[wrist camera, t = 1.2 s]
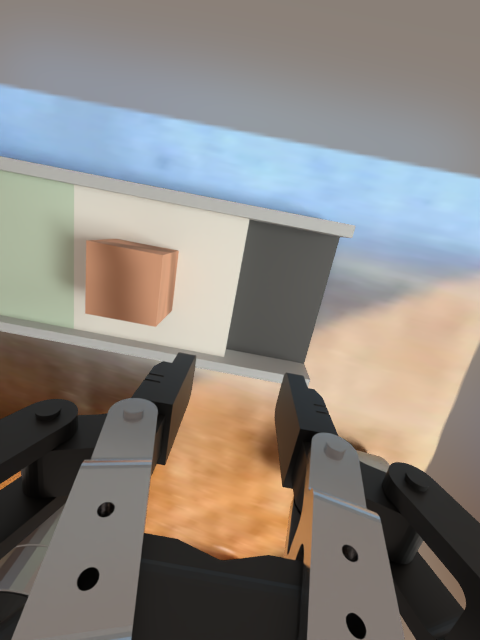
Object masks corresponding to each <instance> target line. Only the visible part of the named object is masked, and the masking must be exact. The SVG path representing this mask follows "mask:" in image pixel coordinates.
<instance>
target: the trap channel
mask: <svg viewBox="0 0 480 640" xmlns="http://www.w3.org/2000/svg"><path fill="white" fill-rule="evenodd" d="M0 170H2V171H7V172H12V173H18V174H23V175H28V176H33V177H38V178H43V179H48V180H54V181H59V182H64V183H69V184H74V329H72V328H66V327H61V326H56V325H50V324H45V323H40V322H34V321H29V320H24V319H18V318H13V317H8V316H2V315H0V331H3V332H8V333H14V334H19V335H25V336H30V337H35V338H41V339H46V340H51V341H57V342H62V343H67V344H73V345H78V346H83V347H89V348H94V349H100V350H105V351H110V352H116V353H121V354H126V355H132V356H137V357H142V358H148V359H153V360H159V361H165V362H171V363H172V362H173V360H174V359H175V357H176V356H177V354H178V352H181V353H186V354H192V355H196V364H195V367H196V368H201V369H207V370H212V371H218V372H223V373H228V374H234V375H239V376H244V377H250V378H255V379H260V380H266V381H271V382H277V383H282V380H283V377H284V374H285V373H286V372H287V373H292V374H297V375H303V376H304V378H305V381H306V384H307V387H308V385H309V382H310V378H309V376H308V373H307V370H306V368H305V365H304V362H305V358H306V355H307V351H308V348H309V344H310V340H311V337H312V333H313V330H314V326H315V323H316V319H317V316H318V312H319V309H320V305H321V302H322V298H323V295H324V291H325V287H326V284H327V280H328V277H329V273H330V270H331V266H332V263H333V259H334V256H335V252H336V249H337V245H338V241H339V238H340V237H346V238H352V236H353V233H354V230H355V226H354V225H349V224H343V223H338V222H333V221H328V220H323V219H318V218H313V217H308V216H303V215H297V214H292V213H287V212H282V211H277V210H272V209H267V208H262V207H256V206H251V205H246V204H241V203H236V202H231V201H226V200H221V199H216V198H210V197H205V196H200V195H195V194H190V193H185V192H180V191H175V190H169V189H164V188H159V187H154V186H149V185H144V184H139V183H134V182H129V181H123V180H118V179H113V178H108V177H103V176H98V175H93V174H88V173H82V172H77V171H72V170H67V169H62V168H57V167H52V166H47V165H42V164H36V163H31V162H26V161H21V160H16V159H11V158H6V157H1V156H0ZM102 239H121V240H126V241H131V242H136V243H141V244H146V245H152V246H157V247H162V248H167V249H172V250H178V251H179V254H178V263H177V272H176V280H175V289H174V298H173V307H172V311H171V312H170V313H169V314H168V315H167V316H166V317H165V318H164V319H163V320H162V321H161V322H160V323H159V324H158V325H157V326H156V327H154V326H149V325H143V324H138V323H133V322H127V321H122V320H117V319H111V318H106V317H101V316H95V315H90V314H85V292H86V240H102Z"/></svg>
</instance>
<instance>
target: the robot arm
mask: <svg viewBox="0 0 480 640" xmlns="http://www.w3.org/2000/svg"><path fill="white" fill-rule="evenodd" d="M195 364H196V355H192V354H186V353H181V352H178V354H177V356H176V357H175V359H174V360H173V362H172V363H171V362H165V361H163V362H161V363H159V364H157V365H155V366H154V367H153V368H152V370H151V371H150V373H149V374H148V375H147V377H146V378H145V380H144V381H143V382H142V384H141V385H140V386H139V388H138V389H137V390H136V392H135V393H134V395H133V396H132V397H131V398H129V399H125V400H121V401H119V402H117V403H115V404H114V405H113V406H112V407H111V408H110V409H109V411H108V413H107V414H99V415H78V408H77V406H76V405H75V404H74V403H72V402H70V401H68V400H62V399H51V400H45V401H40V402H37V403H35V404H32V405H30V406H28V407H26V408H24V409H21V410H19V411H17V412H15V413H13V414H11V415H9V416H7V417H5V418H2V419H0V484H1V483H2V482H4V481H5V480H7V479H8V478H10V477H11V476H13V475H14V474H16V473H18V472H19V471H21V477H19V478H18V479H16V480H15V481H13V482H12V483H10V484H9V485H7V486H6V487H4V488H3V489H1V490H0V640H405V638H404V633H403V628H402V623H401V618H400V615H401V616H402V618H403V619H404V621H405V622H406V624H407V626H408V627H409V629H410V630H411V632H412V634H413V635H414V637H415V639H416V640H480V523H479V522H478V521H477V520H476V519H475V518H473V517H472V516H471V515H470V514H469V513H468V512H467V511H466V510H465V509H464V508H463V507H462V506H461V505H460V504H459V503H458V502H456V501H455V500H454V499H453V498H452V497H451V496H450V495H449V494H448V493H447V492H446V491H445V490H444V489H443V488H442V487H441V486H439V484H438V483H436V482H435V481H434V480H433V479H432V478H431V477H430V476H429V475H427V474H426V473H425V472H423V471H421V470H420V469H418V468H416V467H414V466H412V465H409V464H406V463H400V462H396V463H392V464H391V465H390V466H389V468H388V470H387V473H386V472H384V471H381V470H379V469H377V468H374V467H372V466H369V465H367V464H365V463H363V462H361V461H359V457H358V454H357V452H356V450H355V449H354V447H353V446H352V445H351V444H350V443H349V442H347V441H346V440H344V439H343V438H341V437H339V436H338V434H337V432H336V429H335V427H334V425H333V422H332V420H331V417H330V415H329V412H328V410H327V408H326V405H325V403H324V400H323V398H322V397H321V396H320V395H319V394H318V393H317V392H316V391H315V390H314V389H309V388H308V387H307V384H306V381H305V378H304V376H303V375H297V374H292V373H287V372H286V373H285V374H284V377H283V380H282V384H281V388H280V392H279V396H278V399H277V403H276V408H275V426H276V435H277V443H278V452H279V461H280V470H281V478H282V487H286V488H291V489H293V492H294V497H293V500H292V503H291V506H290V513H289V521H288V528H287V536H286V544H285V551H284V558H281V557H276V556H270V555H266V556H258V557H250V558H242V559H234V560H219V559H217V558H214V557H212V556H210V555H208V554H206V553H204V552H202V551H200V550H198V549H196V548H194V547H192V546H190V545H188V544H186V543H184V542H182V541H180V540H178V539H174V538H169V537H163V536H158V535H152V534H146V533H144V531H145V522H146V514H147V505H148V496H149V488H150V479H151V475H152V473H153V471H154V468H155V466H156V464H161V465H165V464H166V461H167V459H168V456H169V453H170V451H171V448H172V445H173V443H174V440H175V437H176V435H177V432H178V429H179V427H180V424H181V421H182V419H183V416H184V413H185V411H186V408H187V405H188V403H189V399H190V395H191V390H192V384H193V377H194V371H195ZM423 540H424V541H425V543H426V544H427V545H428V546H429V547H430V549H431V550H432V551H433V552H434V553H435V555H436V556H437V557H438V558H439V559H440V561H441V562H442V563H443V564H444V565H445V567H446V568H447V569H448V570H449V571H450V573H451V574H452V575H453V576H454V577H455V579H456V580H457V581H458V583H459V584H460V586H461V588H462V590H463V592H464V595H465V598H466V608H465V610H464V609H463V608H462V607H461V606H460V604H459V603H458V602H457V601H456V599H455V598H454V597H453V596H452V594H451V593H450V592H449V591H448V589H447V588H446V587H445V586H444V584H443V583H442V582H441V580H440V579H439V578H438V577H437V575H436V574H435V573H434V572H433V570H432V569H431V568H430V566H429V565H428V564H427V563H426V561H425V560H424V559H423V558H422V557H421V555H420V554H419V553H418V549H419V547H420V545H421V544H422V542H423Z"/></svg>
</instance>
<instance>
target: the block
mask: <svg viewBox="0 0 480 640" xmlns="http://www.w3.org/2000/svg"><path fill="white" fill-rule="evenodd" d="M178 254H179V251H178V250H172V249H167V248H162V247H157V246H152V245H146V244H141V243H136V242H131V241H126V240H121V239H102V240H86V292H85V314H90V315H95V316H101V317H106V318H111V319H117V320H122V321H127V322H133V323H138V324H143V325H149V326H154V327H156V326H157V325H158V324H159V323H160V322H161V321H162V320H163V319H164V318H165V317H166V316H167V315H168V314H169V313H170V312H171V311H172V307H173V298H174V289H175V280H176V272H177V263H178Z"/></svg>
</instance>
